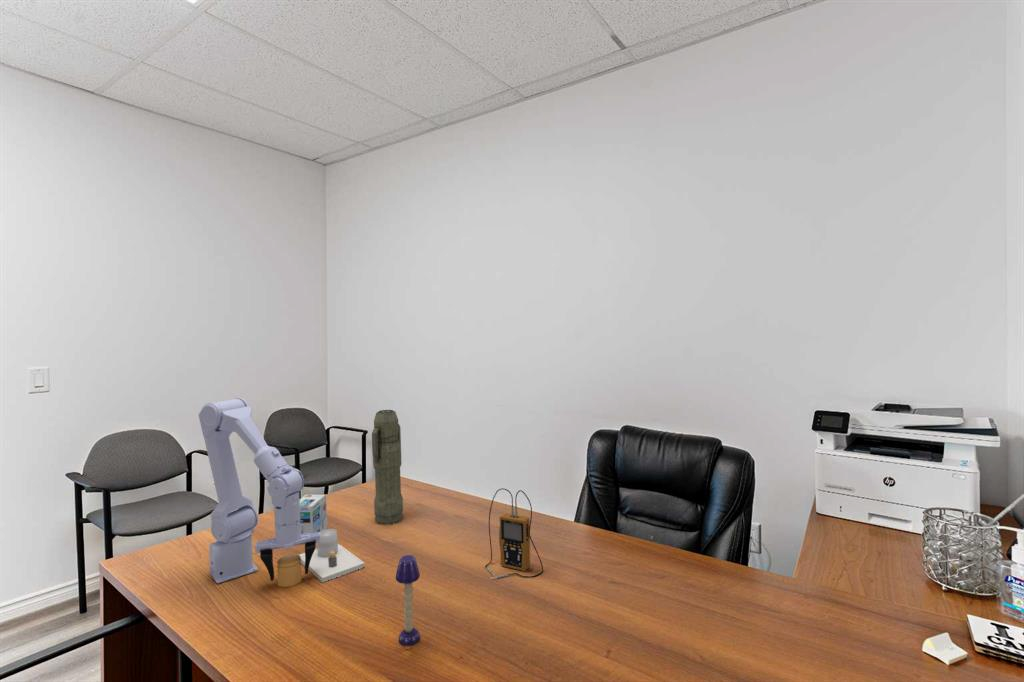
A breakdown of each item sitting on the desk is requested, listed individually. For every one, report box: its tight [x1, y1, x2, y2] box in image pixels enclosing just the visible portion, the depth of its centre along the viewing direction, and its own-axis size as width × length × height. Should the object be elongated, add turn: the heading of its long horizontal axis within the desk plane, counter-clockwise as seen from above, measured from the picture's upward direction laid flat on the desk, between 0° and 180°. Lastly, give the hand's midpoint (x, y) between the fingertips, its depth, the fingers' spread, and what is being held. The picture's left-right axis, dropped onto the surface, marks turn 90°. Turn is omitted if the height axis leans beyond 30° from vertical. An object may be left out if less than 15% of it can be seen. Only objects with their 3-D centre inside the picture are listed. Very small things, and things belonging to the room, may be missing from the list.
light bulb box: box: [299, 494, 328, 533], centre depth 152 cm, size 11×7×11 cm, turn 179°
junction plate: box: [298, 528, 366, 583], centre depth 134 cm, size 11×17×7 cm, turn 42°
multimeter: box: [485, 487, 544, 580], centre depth 126 cm, size 15×10×20 cm
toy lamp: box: [395, 554, 421, 647], centre depth 101 cm, size 5×5×17 cm
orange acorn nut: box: [276, 553, 302, 588], centre depth 125 cm, size 5×5×6 cm
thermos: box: [371, 409, 404, 525], centre depth 163 cm, size 9×12×35 cm
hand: (289, 575), depth 125 cm, fingers open, 7 cm apart
